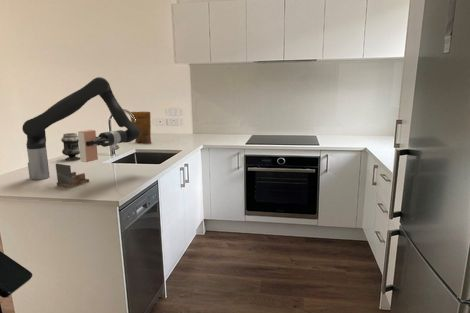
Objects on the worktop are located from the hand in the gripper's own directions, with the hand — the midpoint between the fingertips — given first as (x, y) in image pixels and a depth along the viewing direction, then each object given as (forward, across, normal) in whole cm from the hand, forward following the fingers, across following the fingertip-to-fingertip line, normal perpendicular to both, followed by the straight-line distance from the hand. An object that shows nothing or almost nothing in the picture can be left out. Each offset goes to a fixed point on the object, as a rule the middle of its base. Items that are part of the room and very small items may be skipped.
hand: (83, 143), depth 166 cm
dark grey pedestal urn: (-43, -64, +24) cm, 81 cm away
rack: (-3, -14, +23) cm, 27 cm away
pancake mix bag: (-114, -62, +24) cm, 132 cm away
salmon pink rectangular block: (-3, 0, +9) cm, 9 cm away
